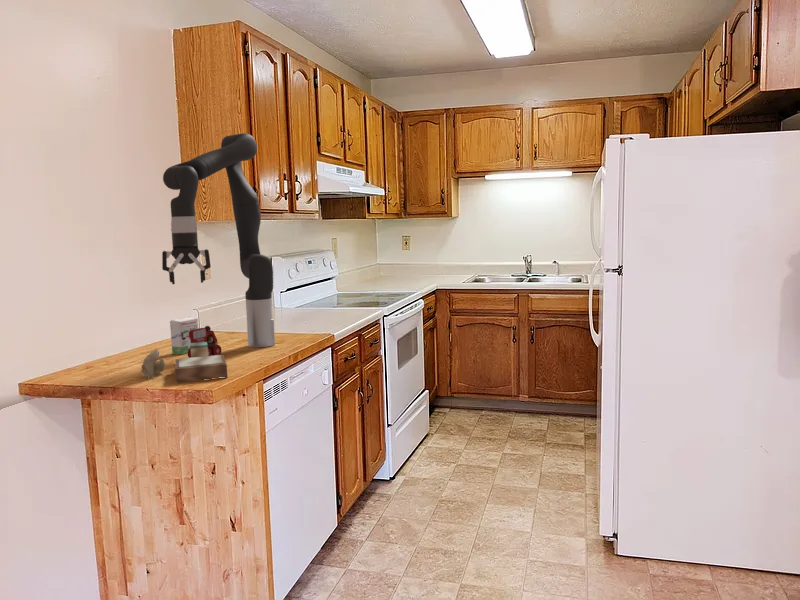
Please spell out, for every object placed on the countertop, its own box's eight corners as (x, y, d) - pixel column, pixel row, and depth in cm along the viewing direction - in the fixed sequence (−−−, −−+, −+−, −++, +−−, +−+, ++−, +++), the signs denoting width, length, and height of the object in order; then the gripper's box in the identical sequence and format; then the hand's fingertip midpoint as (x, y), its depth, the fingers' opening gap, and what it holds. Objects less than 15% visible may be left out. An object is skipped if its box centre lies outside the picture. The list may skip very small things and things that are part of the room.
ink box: (181, 354, 213) (179, 321, 212) (171, 353, 216) (169, 320, 214) (200, 350, 221) (198, 317, 219) (190, 349, 223) (188, 316, 222)
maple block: (208, 363, 198) (206, 341, 197) (208, 367, 193) (207, 344, 193) (191, 365, 197) (190, 343, 196) (191, 368, 192) (190, 346, 191)
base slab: (224, 367, 192) (223, 354, 191) (227, 377, 179) (226, 363, 178) (176, 372, 187) (175, 358, 187) (175, 383, 174) (174, 368, 173)
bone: (148, 366, 189) (160, 340, 186) (165, 378, 188) (176, 351, 185) (129, 375, 181) (140, 347, 178) (146, 387, 180) (158, 359, 177)
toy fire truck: (225, 354, 212) (223, 324, 211) (201, 362, 201) (199, 330, 200) (209, 353, 215) (207, 323, 214) (184, 361, 204) (182, 329, 202)
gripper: (207, 230, 199) (210, 281, 201) (160, 232, 194) (164, 283, 196) (208, 230, 192) (211, 283, 194) (159, 232, 187) (163, 285, 189)
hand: (187, 283), depth 195 cm, fingers open, 8 cm apart
